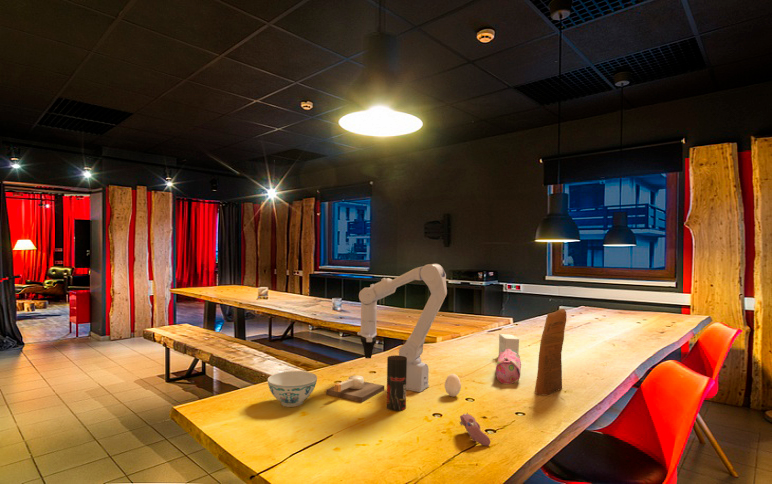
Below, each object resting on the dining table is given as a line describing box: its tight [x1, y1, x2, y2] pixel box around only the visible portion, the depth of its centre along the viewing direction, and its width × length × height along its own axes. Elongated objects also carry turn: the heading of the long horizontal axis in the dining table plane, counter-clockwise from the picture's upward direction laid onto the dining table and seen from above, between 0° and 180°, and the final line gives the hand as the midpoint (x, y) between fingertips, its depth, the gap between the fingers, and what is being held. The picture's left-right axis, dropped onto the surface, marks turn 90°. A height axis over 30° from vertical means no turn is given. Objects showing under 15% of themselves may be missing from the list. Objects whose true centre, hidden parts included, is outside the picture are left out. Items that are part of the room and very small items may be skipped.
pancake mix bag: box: [534, 308, 567, 396], centre depth 150 cm, size 7×19×28 cm, turn 133°
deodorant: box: [386, 354, 407, 412], centre depth 131 cm, size 6×6×15 cm
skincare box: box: [498, 333, 520, 355], centre depth 192 cm, size 10×6×10 cm, turn 179°
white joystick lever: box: [334, 375, 365, 392], centre depth 141 cm, size 12×5×3 cm, turn 146°
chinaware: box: [267, 370, 318, 408], centre depth 133 cm, size 15×15×8 cm
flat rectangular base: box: [325, 381, 385, 403], centre depth 144 cm, size 14×14×2 cm
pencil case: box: [495, 349, 522, 385], centre depth 166 cm, size 21×9×9 cm, turn 161°
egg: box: [444, 373, 462, 397], centre depth 142 cm, size 5×5×7 cm
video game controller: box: [459, 412, 491, 447], centre depth 110 cm, size 10×5×7 cm, turn 5°
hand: (368, 357), depth 157 cm, fingers closed
